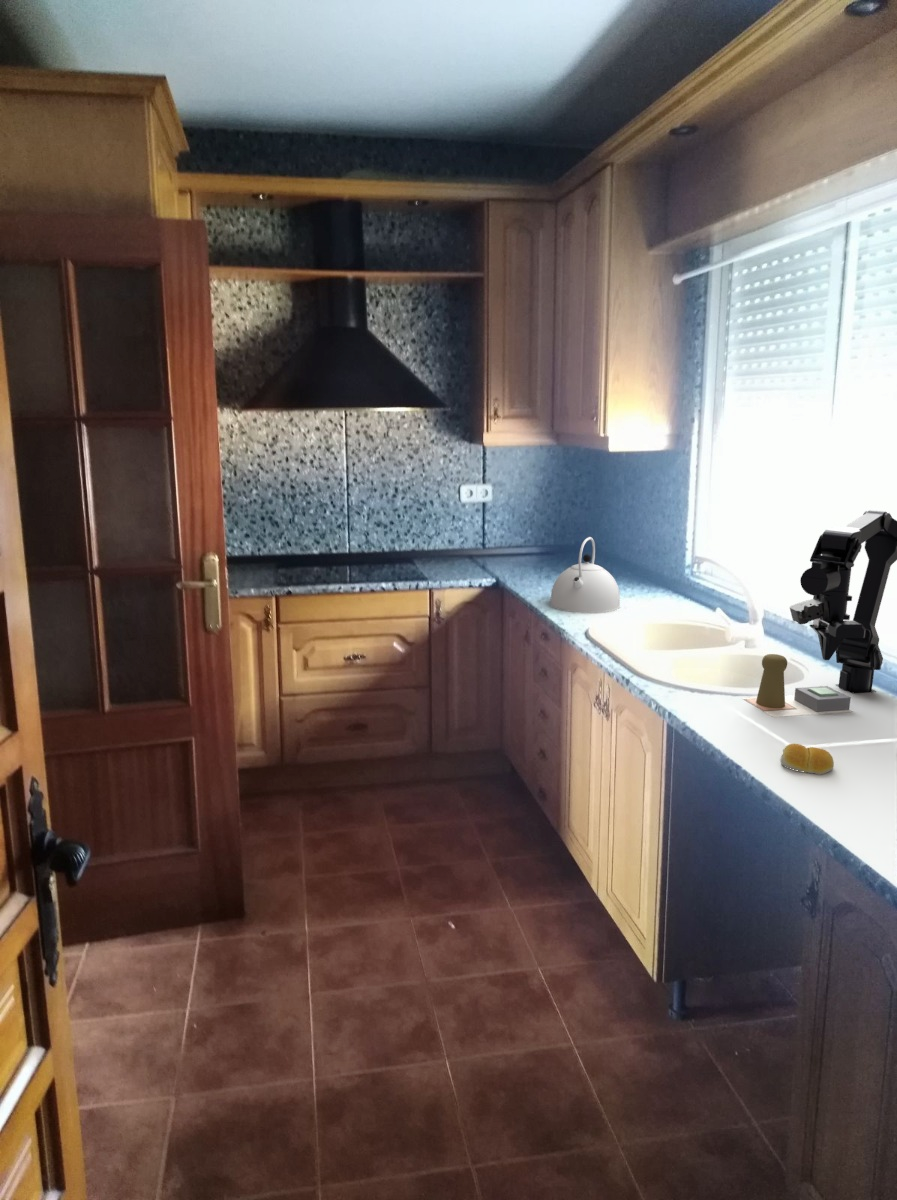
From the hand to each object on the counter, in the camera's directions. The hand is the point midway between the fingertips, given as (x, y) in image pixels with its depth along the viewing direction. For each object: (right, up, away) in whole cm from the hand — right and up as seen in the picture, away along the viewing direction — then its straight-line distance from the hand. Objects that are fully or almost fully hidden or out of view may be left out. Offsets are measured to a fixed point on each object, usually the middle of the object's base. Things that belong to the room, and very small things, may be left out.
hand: (826, 659), depth 190 cm
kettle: (-37, +11, +98) cm, 105 cm away
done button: (0, -9, +2) cm, 10 cm away
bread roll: (-16, -18, -29) cm, 38 cm away
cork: (-11, -10, +2) cm, 15 cm away
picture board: (-6, -11, +2) cm, 12 cm away
